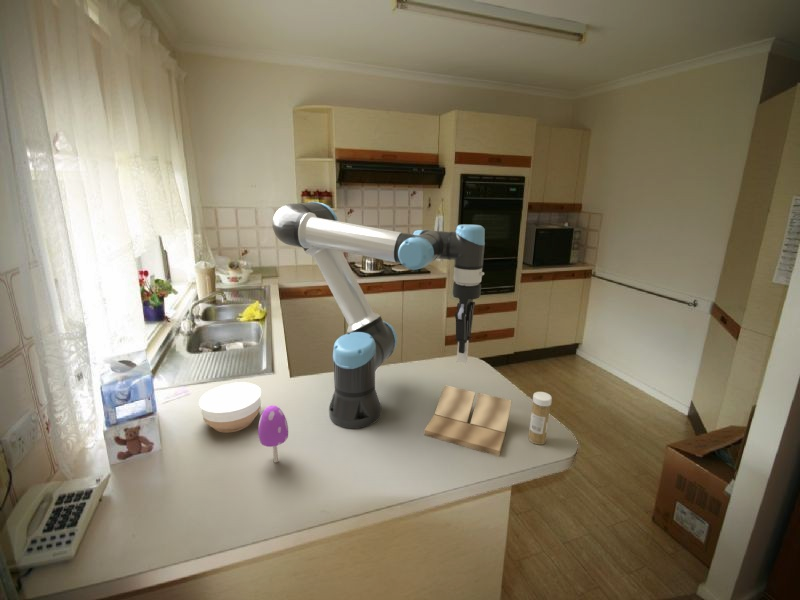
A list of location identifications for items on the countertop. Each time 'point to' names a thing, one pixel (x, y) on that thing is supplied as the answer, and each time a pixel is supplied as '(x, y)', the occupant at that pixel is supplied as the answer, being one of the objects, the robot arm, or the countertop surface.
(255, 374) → the countertop surface
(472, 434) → the laid board
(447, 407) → the plank
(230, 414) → the bowl
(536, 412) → the sprinkles bottle
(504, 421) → the plank
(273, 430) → the toy
